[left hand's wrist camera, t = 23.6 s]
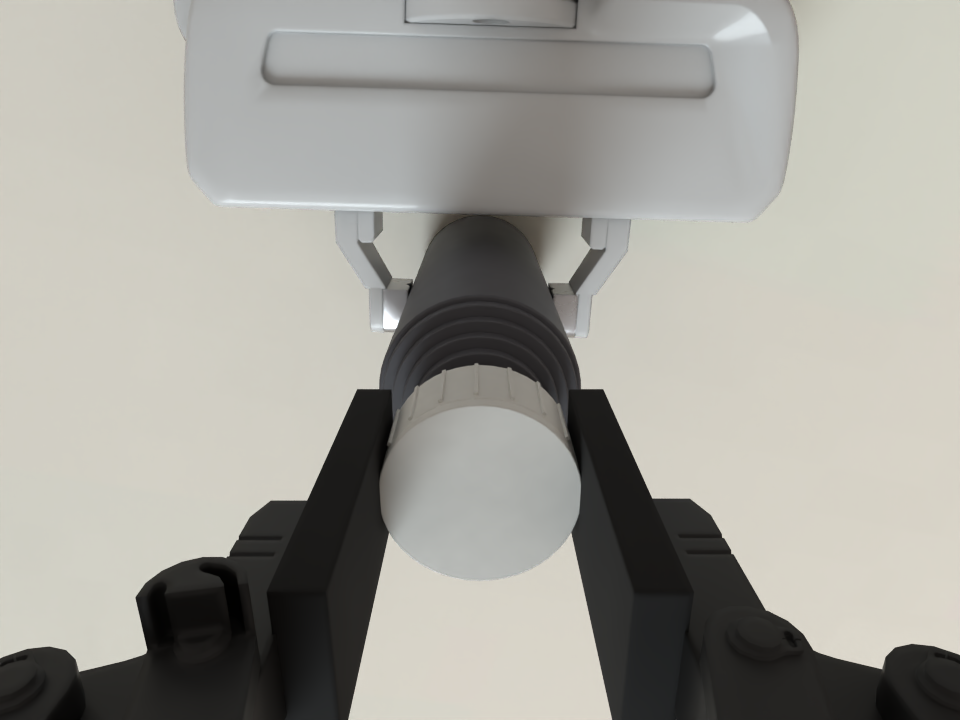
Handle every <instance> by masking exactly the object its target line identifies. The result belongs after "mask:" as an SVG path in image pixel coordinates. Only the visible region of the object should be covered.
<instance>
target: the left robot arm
mask: <svg viewBox="0 0 960 720" xmlns="http://www.w3.org/2000/svg"><path fill="white" fill-rule="evenodd" d="M392 425H393V409H392V390H391V389H357V391H356V393H355V396H354V398H353V400H352V402H351V405H350V407H349V409H348V411H347V413H346V416H345V418H344V420H343V422H342V425H341V427H340V429H339V431H338V434H337V436H336V438H335V440H334V442H333V445H332V447H331V449H330V451H329V454H328V456H327V458H326V460H325V462H324V465H323V467H322V469H321V471H320V474H319V476H318V478H317V480H316V483H315V485H314V487H313V489H312V491H311V494H310V496H309V498H308V500H307V501H270V502H269V503H267V504H266V505H265V506H264V507H262V508H261V509H260V510H258V511H257V512H256V513H255V514H253V515H252V516H251V517H250V518H249V520H248V522H247V523H246V525H245V527H244V529H243V530H242V532H241V534H240V535H239V540H237V541H236V542H235V544H234V546H233V548H232V549H231V551H230V556H229V557H227V558H223V557H202V558H197V559H193V560H188V561H184V562H181V563H179V564H176V565H174V566H172V567H170V568H167V569H165V570H163V571H161V572H160V573H159V574H157V575H156V576H155V577H153V578H152V579H151V580H149V581H148V582H147V583H145V585H144V586H143V588H142V589H141V590H140V592H139V593H138V595H137V596H136V602H137V606H138V611H139V615H140V619H141V624H142V628H143V632H144V637H145V641H146V646H147V653H146V654H144V655H142V656H139V657H136V658H133V659H130V660H126V661H123V662H119V663H115V664H110V665H106V666H102V667H98V668H94V669H90V670H85V671H81V672H79V670H78V667H77V663H76V660H75V659H74V658H73V657H72V656H71V655H70V654H69V653H68V652H67V651H66V650H62V649H58V648H53V647H41V648H32V649H26V650H23V651H20V652H17V653H14V654H11V655H8V656H5V657H2V658H1V659H0V720H348V718H349V713H350V709H351V704H352V699H353V695H354V690H355V686H356V681H357V677H358V672H359V667H360V663H361V658H362V654H363V649H364V645H365V640H366V635H367V631H368V626H369V622H370V617H371V612H372V608H373V603H374V599H375V594H376V590H377V585H378V580H379V576H380V571H381V567H382V562H383V557H384V553H385V548H386V544H387V539H388V535H389V531H388V529H387V527H386V525H385V523H384V521H383V518H382V514H381V503H380V486H379V478H380V473H381V469H382V466H383V462H384V458H385V455H386V451H387V448H388V446H387V442H388V439H389V435H390V432H391V428H392ZM567 429H568V431H569V434H570V438H571V441H572V445H573V448H574V452H575V456H576V459H577V463H578V468H579V472H580V476H581V494H580V509H579V516H578V519H577V521H576V524H575V526H574V528H573V530H572V532H571V533H572V537H573V542H574V546H575V551H576V556H577V560H578V565H579V569H580V574H581V579H582V583H583V588H584V592H585V597H586V601H587V606H588V611H589V615H590V620H591V624H592V629H593V633H594V638H595V643H596V647H597V652H598V656H599V661H600V666H601V670H602V675H603V679H604V684H605V688H606V693H607V698H608V702H609V707H610V711H611V716H612V720H960V655H958V654H955V653H952V652H949V651H946V650H943V649H940V648H937V647H934V646H926V645H916V644H910V645H905V646H900V647H896V648H894V649H893V650H892V651H891V652H890V653H889V654H888V655H887V656H886V658H885V662H884V665H883V669H878V668H874V667H869V666H865V665H861V664H857V663H853V662H849V661H844V660H840V659H836V658H833V657H830V656H827V655H823V654H820V653H818V652H816V651H813V649H812V648H811V646H810V644H809V643H808V641H807V639H806V638H805V636H804V635H803V634H802V633H801V632H800V631H799V630H798V629H796V628H795V627H794V626H793V625H792V624H791V623H789V622H788V621H787V620H785V619H783V618H781V617H779V616H777V615H775V614H773V613H771V612H769V611H766V610H765V608H764V607H763V605H762V603H761V601H760V600H759V598H758V596H757V594H756V593H755V591H754V589H753V588H752V586H751V584H750V582H749V581H748V579H747V577H746V575H745V574H744V572H743V570H742V568H741V567H740V565H739V563H738V562H737V560H736V558H735V556H734V555H733V554H731V549H730V548H729V546H728V544H727V542H726V541H725V539H724V538H722V534H721V532H720V530H719V529H718V527H717V525H716V523H715V522H714V520H713V518H712V516H711V515H710V514H709V513H707V512H706V511H705V510H704V509H702V508H701V507H700V506H698V505H697V504H696V503H695V502H693V501H692V500H691V499H652V497H651V495H650V493H649V490H648V488H647V486H646V484H645V482H644V479H643V477H642V475H641V473H640V470H639V468H638V466H637V464H636V462H635V459H634V457H633V455H632V453H631V450H630V448H629V446H628V444H627V441H626V439H625V437H624V435H623V433H622V430H621V428H620V426H619V424H618V421H617V419H616V417H615V415H614V413H613V410H612V408H611V406H610V404H609V401H608V399H607V397H606V395H605V392H604V390H603V389H569V398H568V417H567Z"/></svg>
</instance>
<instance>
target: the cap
mask: <svg viewBox="0 0 960 720" xmlns="http://www.w3.org/2000/svg"><path fill="white" fill-rule="evenodd" d="M387 446H388V448H387V451H386V455H385V458H384V462H383V466H382V469H381V473H380V478H379V486H380V503H381V514H382V518H383V521H384V523H385V525H386V527H387V529H388V531H389V533H390V534H391V536H392V537H393V539H394V540H395V542H396V543H397V544H398V545H399V546H400V548H401V549H402V550H403V551H404V552H405V553H407V554H408V555H409V556H410V557H411V558H412V559H414V560H415V561H417V562H418V563H419V564H421V565H423V566H425V567H426V568H428V569H430V570H432V571H435V572H437V573H440V574H442V575H445V576H449V577H452V578H457V579H463V580H472V581H488V580H497V579H504V578H508V577H511V576H515V575H518V574H521V573H523V572H526V571H528V570H530V569H532V568H534V567H536V566H538V565H539V564H541V563H542V562H544V561H545V560H547V559H548V558H549V557H550V556H552V555H553V554H554V553H555V552H556V551H557V550H558V549H559V548H560V547H561V546H562V544H563V543H564V542H565V541H566V539H567V538H568V536H569V535H570V533H571V532H572V530H573V528H574V526H575V524H576V521H577V519H578V516H579V509H580V494H581V476H580V472H579V468H578V463H577V459H576V456H575V452H574V448H573V445H572V441H571V438H570V434H569V431H568V429H567V425H566V422H565V419H564V415H563V412H562V408H561V405H560V404H559V403H558V404H556V402H555V401H554V399H553V398H552V397H551V396H550V395H549V394H548V393H547V392H546V390H544V389H543V388H542V387H541V385H540V383H539V382H538V381H537V382H534V381H533V380H531V379H529V378H528V377H526V376H524V375H522V374H520V373H518V372H515V371H512V370H511V368H509V367H508V368H501V367H496V366H487V365H478V363H475V364H474V365H472V366H464V367H459V368H455V369H451V370H447V371H446V369H445V370H442V373H441V374H438V375H436V376H434V377H432V378H431V379H429V380H428V381H426V382H424V383H423V384H422V385H421V386H420V387H419V386H418V385H417V386H416V387H415V389H414V392H413V393H412V394H411V395H410V396H409V397H408V399H407V400H406V401H405V403H404V404H403V406H402V407H401V409H400V410H399V409H397V411H396V414H395V418H394V421H393V425H392V428H391V432H390V435H389V439H388V442H387Z"/></svg>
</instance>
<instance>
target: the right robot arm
mask: <svg viewBox="0 0 960 720" xmlns="http://www.w3.org/2000/svg"><path fill="white" fill-rule="evenodd" d="M174 9H175V15H176V20H177V23H178V26H179V29H180V31H181V33H182V35H183V37H184V39H185V41H186V46H185V67H184V126H185V145H186V158H187V167H188V172H189V175H190V177H191V179H192V181H193V182H194V183H195V184H196V185H197V187H198V188H199V189H200V190H201V191H202V192H203V194H204V195H205V196H206V197H207V198H208V199H209V200H210V201H211V202H212V203H213V204H214V205H216V206H219V207H238V208H271V209H305V210H335V230H336V243H337V245H338V246H339V248H340V249H341V251H342V252H343V254H344V256H345V257H346V259H347V260H348V262H349V263H350V265H351V267H352V268H353V270H354V271H355V273H356V274H357V276H358V278H359V279H360V281H361V282H362V284H363V285H364V287H365V288H368V289H369V309H370V328H371V331H372V332H395V330H396V327H397V325H398V322H399V320H400V317H401V314H402V312H403V309H404V307H405V304H406V302H407V299H408V297H409V294H410V292H411V289H412V287H413V279H397V278H392V276H391V274H390V272H389V271H388V269H387V267H386V265H385V264H384V262H383V260H382V258H381V257H380V255H379V253H378V251H377V250H376V248H375V246H374V244H373V243H372V242H373V241H374V240H375V239H376V237H377V236H378V235H379V234H380V233H381V232H382V231H383V214H382V212H406V213H440V214H473V215H507V216H540V217H574V218H582V233H581V236H582V238H583V239H584V240H585V241H586V242H587V244H588V245H589V246H590V247H591V249H590V250H589V252H588V254H587V255H586V257H585V258H584V260H583V261H582V263H581V264H580V266H579V267H578V269H577V270H576V272H575V273H574V275H573V276H572V278H571V280H570V281H569V283H549V284H548V289H549V291H550V294H551V296H552V299H553V302H554V304H555V307H556V309H557V312H558V314H559V317H560V319H561V322H562V324H563V327H564V329H565V332H566V334H567V337H573V338H574V337H575V338H587V336H588V333H589V325H590V314H591V304H592V295H596V294H597V292H598V291H599V290H600V288H601V287H602V286H603V284H604V283H605V281H606V280H607V279H608V277H609V276H610V275H611V273H612V272H613V270H614V269H615V268H616V266H617V265H618V264H619V262H620V261H621V259H622V258H623V257H624V255H625V254H626V253H627V251H628V242H629V233H630V225H631V219H641V220H675V221H709V222H745V223H747V222H752V221H753V220H755V219H756V218H757V217H758V216H759V215H761V214H762V213H763V212H764V211H765V209H766V208H767V207H768V206H769V205H770V204H771V203H772V202H773V201H774V200H775V199H776V197H777V196H778V195H779V193H780V191H781V189H782V186H783V182H784V179H785V174H786V170H787V164H788V158H789V152H790V146H791V139H792V132H793V123H794V115H795V104H796V93H797V79H798V59H799V38H798V28H797V22H796V18H795V14H794V11H793V9H792V6H791V4H790V2H789V0H174Z"/></svg>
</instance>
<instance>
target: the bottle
mask: <svg viewBox="0 0 960 720" xmlns="http://www.w3.org/2000/svg"><path fill="white" fill-rule="evenodd" d="M475 363H478V365H487V366H496V367H501V368H508V367H509V368H511V370H512V371H515V372H518V373H520V374H522V375H524V376H526V377H528V378H529V379H531V380H533V381H534V382H537V381H538V382H539V383H540V385H541V387H542V388H543V389H544V390H546V392H547V393H548V394H549V395H550V396H551V397H552V398H553V399H554V401H555V402H556V404H558V403H559V404H560V405H561V408H562V412H563V415H564V419H565V422H566V425H567V417H568V398H569V389H581V379H580V373H579V367H578V364H577V360H576V357H575V354H574V352H573V349H572V347H571V344H570V342H569V339H568V337H567V334H566V332H565V329H564V327H563V324H562V322H561V319H560V317H559V314H558V312H557V309H556V307H555V304H554V302H553V299H552V296H551V294H550V291H549V289H548V286H547V284H546V281H545V279H544V276H543V274H542V271H541V269H540V266H539V264H538V261H537V259H536V256H535V254H534V251H533V249H532V247H531V245H530V243H529V242H528V240H527V239H526V238H525V236H524V235H523V234H522V233H521V232H520V231H519V230H518V229H517V228H515V227H514V226H512V225H511V224H510V223H508V222H506V221H504V220H501V219H498V218H495V217H490V216H470V217H465V218H462V219H459V220H456V221H454V222H452V223H451V224H449V225H448V226H446V227H445V228H443V229H442V230H441V231H440V232H439V233H438V234H437V235H436V236H435V238H434V239H433V240H432V242H431V243H430V245H429V247H428V249H427V251H426V254H425V256H424V259H423V261H422V264H421V266H420V269H419V271H418V274H417V277H416V279H415V282H414V284H413V287H412V289H411V292H410V294H409V297H408V299H407V302H406V304H405V307H404V309H403V312H402V314H401V317H400V320H399V322H398V325H397V327H396V330H395V332H394V335H393V337H392V340H391V342H390V345H389V347H388V350H387V352H386V355H385V358H384V361H383V364H382V368H381V374H380V382H379V389H391V390H392V409H393V421H394V418H395V414H396V411H397V409H399V410H400V409H401V407H402V406H403V404H404V403H405V401H406V400H407V399H408V397H409V396H410V395H411V394H412V393H413V392H414V389H415V387H416V386H417V385H418V386H419V387H420V386H421V385H422V384H423V383H424V382H426V381H428V380H429V379H431V378H432V377H434V376H436V375H438V374H441V373H442V370H445V369H446V371H447V370H451V369H455V368H459V367H464V366H472V365H474V364H475Z"/></svg>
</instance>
